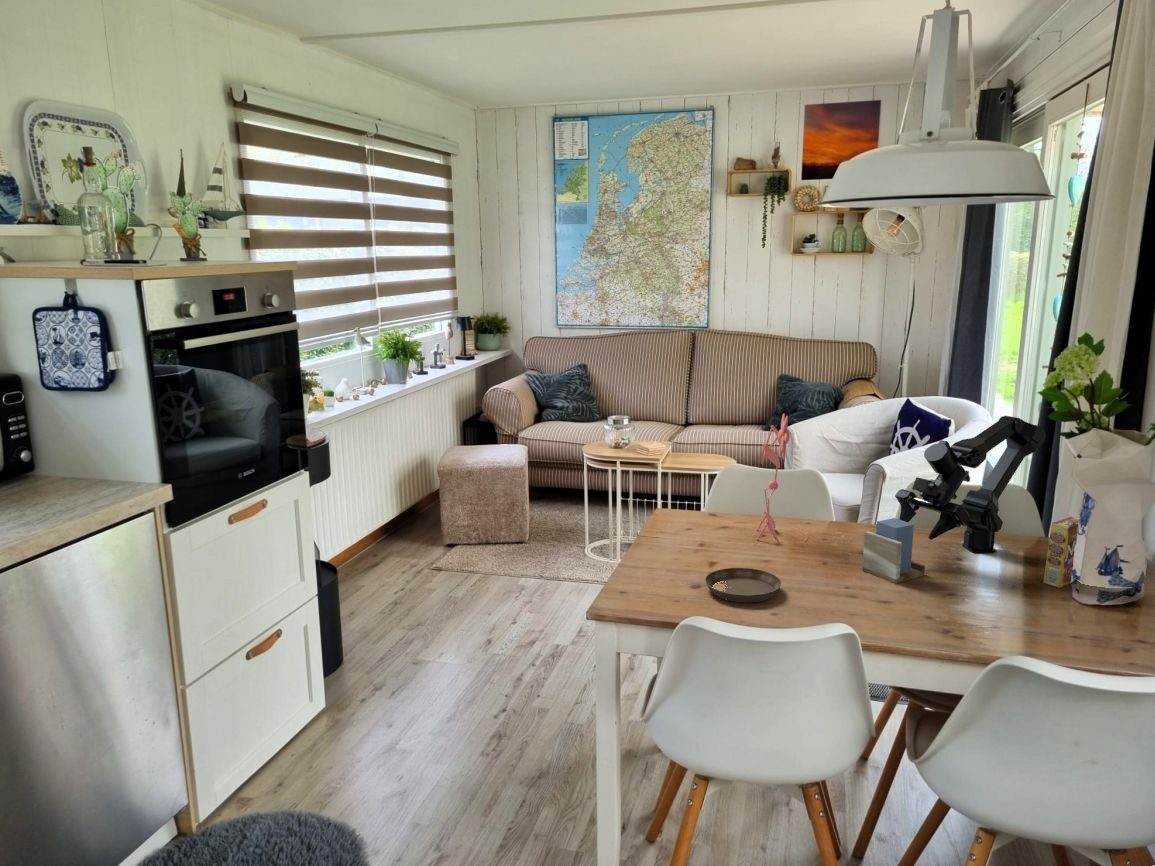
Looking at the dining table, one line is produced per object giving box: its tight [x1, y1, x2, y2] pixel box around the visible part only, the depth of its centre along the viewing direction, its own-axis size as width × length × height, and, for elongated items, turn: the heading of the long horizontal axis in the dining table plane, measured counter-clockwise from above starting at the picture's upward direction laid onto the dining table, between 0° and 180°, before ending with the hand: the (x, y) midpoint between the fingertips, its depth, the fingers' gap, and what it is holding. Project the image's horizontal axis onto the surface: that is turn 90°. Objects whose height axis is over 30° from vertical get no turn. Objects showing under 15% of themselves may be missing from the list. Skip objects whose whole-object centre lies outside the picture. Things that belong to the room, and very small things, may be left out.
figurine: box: [753, 413, 808, 548], centre depth 232 cm, size 15×26×35 cm, turn 168°
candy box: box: [1043, 516, 1080, 589], centre depth 199 cm, size 9×4×15 cm, turn 123°
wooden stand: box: [861, 531, 926, 584], centre depth 207 cm, size 10×10×10 cm
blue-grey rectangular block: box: [875, 517, 915, 574], centre depth 206 cm, size 7×6×12 cm
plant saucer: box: [704, 567, 782, 604], centre depth 197 cm, size 18×18×3 cm
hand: (914, 533), depth 209 cm, fingers open, 9 cm apart
